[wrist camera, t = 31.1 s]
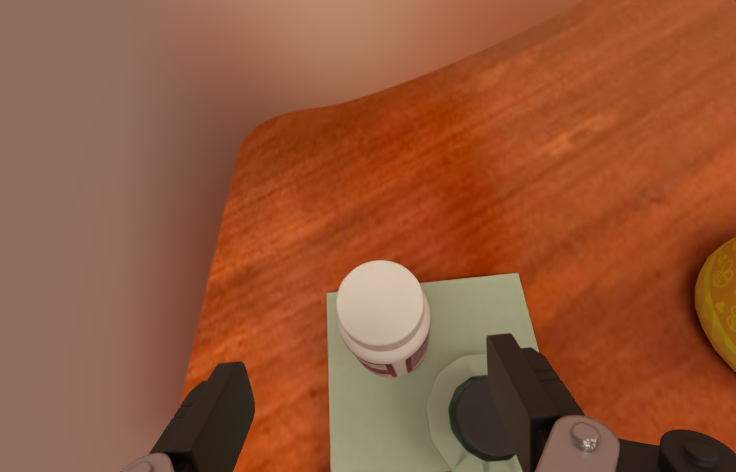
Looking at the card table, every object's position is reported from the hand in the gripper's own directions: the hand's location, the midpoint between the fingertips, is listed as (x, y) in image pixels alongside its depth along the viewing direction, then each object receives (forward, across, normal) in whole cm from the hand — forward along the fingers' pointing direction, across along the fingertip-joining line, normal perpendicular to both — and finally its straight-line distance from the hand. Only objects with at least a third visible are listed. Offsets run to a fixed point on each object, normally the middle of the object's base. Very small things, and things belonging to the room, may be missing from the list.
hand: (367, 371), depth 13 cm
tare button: (+6, +5, -8) cm, 12 cm away
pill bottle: (+11, 0, -6) cm, 13 cm away
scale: (+10, +3, -8) cm, 14 cm away
